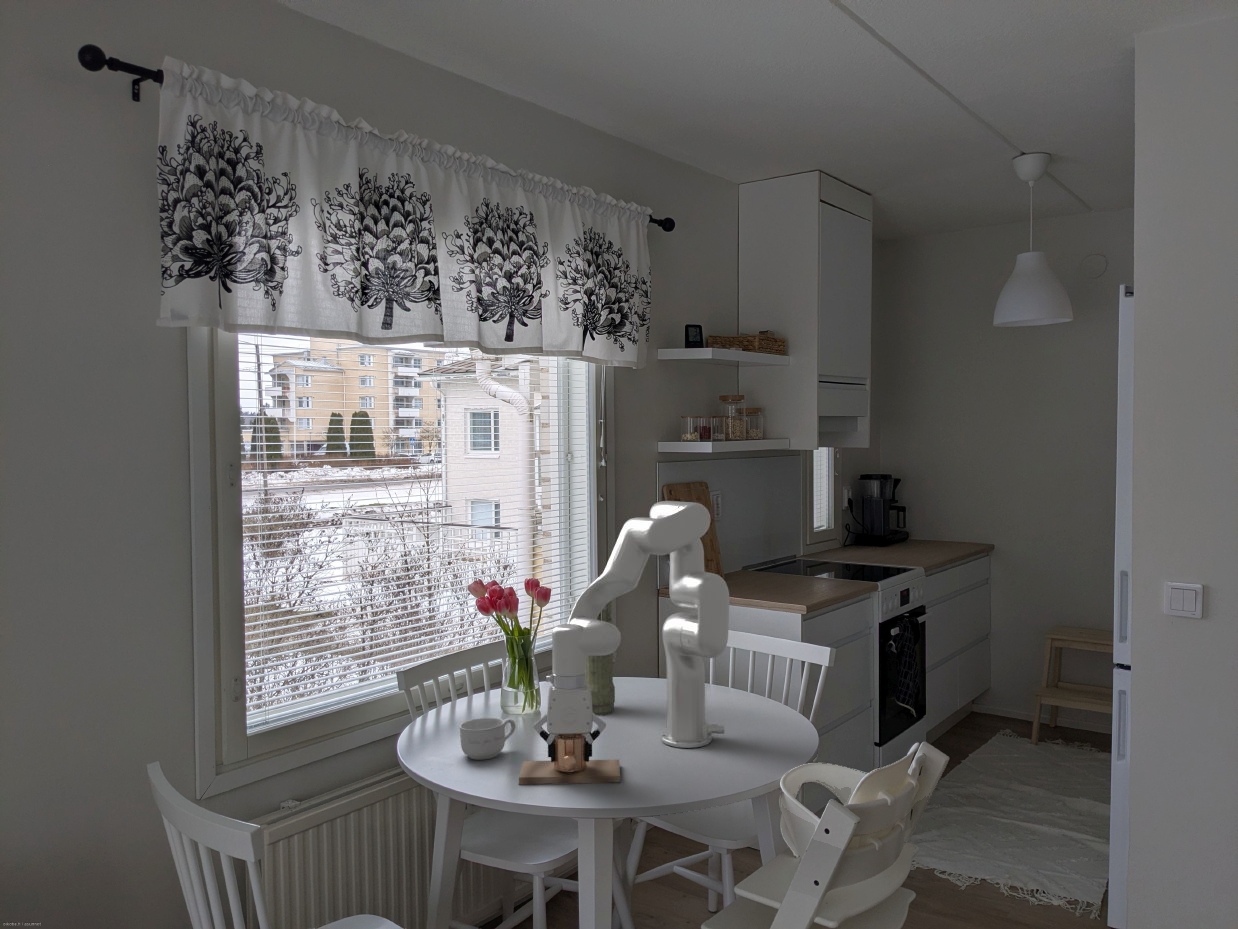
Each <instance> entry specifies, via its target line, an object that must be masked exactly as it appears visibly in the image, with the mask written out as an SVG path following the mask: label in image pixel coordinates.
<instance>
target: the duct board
mask: <svg viewBox="0 0 1238 929" xmlns="http://www.w3.org/2000/svg"><path fill="white" fill-rule="evenodd" d="M620 770H621V769H620V759H589V762H587V765H586V768H584V769H583V770H579V771H574V772H566V771H565V772H564V771H559V770H557V769H555V768H554V762H551V760H523V761H522V764H521V769H520V771H519V774H518V775H519V776H518V785H546V784H545V783H569V784H609V782H620V783H621V771H620Z"/></svg>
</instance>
